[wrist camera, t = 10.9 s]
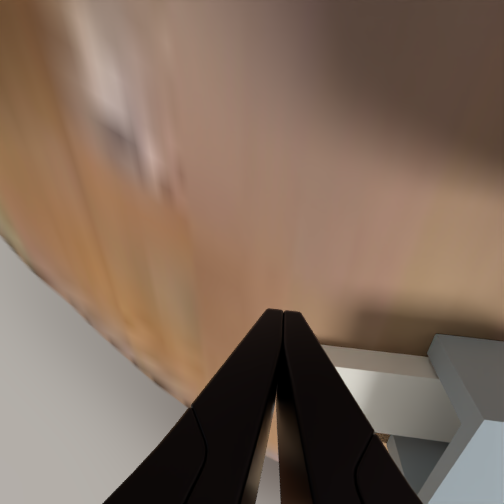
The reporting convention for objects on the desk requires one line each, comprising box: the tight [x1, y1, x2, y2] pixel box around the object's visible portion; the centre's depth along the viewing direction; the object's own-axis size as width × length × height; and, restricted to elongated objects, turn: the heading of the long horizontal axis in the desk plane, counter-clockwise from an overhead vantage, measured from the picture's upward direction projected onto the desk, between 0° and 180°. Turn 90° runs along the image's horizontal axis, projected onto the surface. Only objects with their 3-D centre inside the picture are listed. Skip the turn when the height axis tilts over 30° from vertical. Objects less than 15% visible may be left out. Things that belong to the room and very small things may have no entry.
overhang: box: [387, 334, 504, 504], centre depth 22 cm, size 8×14×6 cm, turn 177°
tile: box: [321, 345, 461, 443], centre depth 24 cm, size 14×7×2 cm, turn 88°
